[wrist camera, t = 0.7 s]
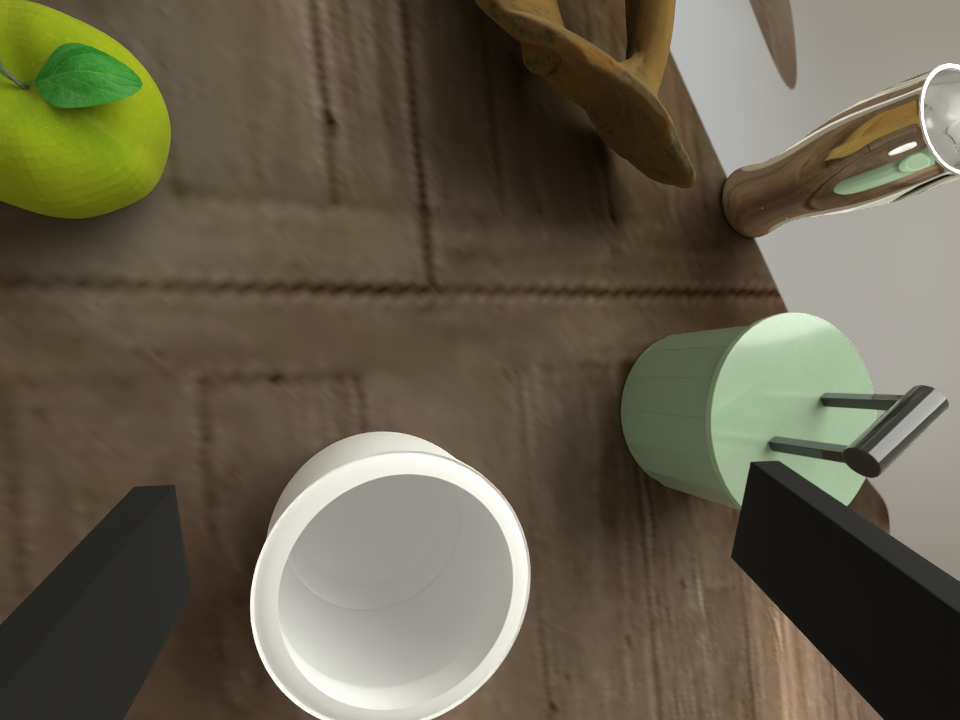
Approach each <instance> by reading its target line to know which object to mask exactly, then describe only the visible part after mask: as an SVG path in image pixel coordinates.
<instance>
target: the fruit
mask: <svg viewBox="0 0 960 720" xmlns="http://www.w3.org/2000/svg"><path fill="white" fill-rule="evenodd" d="M170 139H171V129H170V121H169V116H168V112H167V108H166V106H165V103H164V100H163V98H162V95H161V93H160V91H159V89H158V87H157V86H156V84H155V83H154V81H153V79H152V78H151V76H150V75H149V73H148V72H147V71H146V69H145V68H144V67H143V65H142V64H141V63H140V62H139V61H138V60H137V59H136V58H135V57H134V56H133V55H132V54H131V53H130V52H129V51H128V50H127V49H126V48H125V47H123V46H122V45H121V44H120V43H118V42H117V41H116V40H114V39H113V38H111V37H110V36H108V35H106V34H105V33H103V32H101V31H99V30H97V29H96V28H94V27H92V26H90V25H88V24H86V23H84V22H82V21H80V20H78V19H75V18H73V17H71V16H69V15H66V14H64V13H62V12H60V11H57V10H55V9H52V8H50V7H47V6H44V5H41V4H38V3H34V2H31V1H27V0H0V201H3V202H6V203H8V204H11V205H14V206H17V207H20V208H23V209H26V210H29V211H32V212H36V213H39V214H43V215H47V216H52V217H59V218H71V219H81V218H90V217H95V216H99V215H103V214H106V213H109V212H112V211H115V210H118V209H120V208H123V207H126V206H128V205H130V204H132V203H135V202H137V201H138V200H140V199H142V198H143V197H145V196H146V195H148V194H149V193H150V192H151V191H152V190H153V189H154V187H155V186H156V184H157V183H158V181H159V179H160V177H161V175H162V173H163V170H164V168H165V165H166V162H167V158H168V154H169V148H170Z"/></svg>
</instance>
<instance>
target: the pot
mask: <svg viewBox="0 0 960 720" xmlns="http://www.w3.org/2000/svg"><path fill="white" fill-rule="evenodd" d="M750 325H751V324H749V325H741V326H733V327H724V328H716V329H707V330H699V331H691V332H685V333H678V334H672V335H668V336H667V337H664V338H662V339H660V340H658V341H657V342H655V343H653V344H652V345H651V346H650V347H648V348H647V349H646V350H645V351H644V352H643V353H642V354H641V355H640V356H639V358H638V359H637V361H636V362H635V363H634V365H633V367H632V369H631V371H630V372H629V375H628V377H627V380H626V382H625V386H624V390H623V394H622V401H621V421H622V428H623V433H624V437H625V440H626V443H627V446H628V448H629V450H630V452H631V454H632V456H633V457H634V459H635V461H636V462H637V463H638V465H639V466H640V467H641V468H642V469H643V471H645V472H646V473H647V474H648V475H649V476H650V477H651V478H653V479H654V480H656V481H657V482H659V483H661V484H663V485H664V486H666V487H668V488H672V489H675V490H678V491H681V492H684V493H687V494H690V495H693V496H697V497H700V498H703V499H706V500H709V501H712V502H715V503H718V504H722V505H725V506H728V507H731V508H734V509H737V510H740V509H739V508H738V507H737V506H736V505H735V504H734V503H733V502H732V500H731V499H730V498H729V497H728V495H727V494H726V493H725V491H724V489H723V488H722V486H721V484H720V483H719V480H718V478H717V476H716V474H715V472H714V469H713V466H712V463H711V460H710V457H709V452H708V447H707V442H706V431H705V410H706V402H707V395H708V391H709V387H710V383H711V380H712V377H713V374H714V372H715V369H716V367H717V365H718V363H719V361H720V359H721V357H722V355H723V354H724V352H725V351H726V349H727V348H728V346H729V345H730V344H731V342H732V341H733V340H734V339H735V338H736V337H737V336H738V335H739V334H740V333H741V332H742V331H743V330H744V329H746V328H747V327H748V326H750ZM740 511H741V510H740Z"/></svg>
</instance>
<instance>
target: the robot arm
mask: <svg viewBox="0 0 960 720" xmlns="http://www.w3.org/2000/svg"><path fill="white" fill-rule="evenodd" d="M731 558H732V559H733V560H734V561H735V562H736V563H737V564H738V565H739V566H740V567H741V568H742V569H743V570H744V571H745V572H746V573H747V575H748V576H749V577H750V578H751V579H752V580H753V581H754V582H755V583H756V584H757V585H758V586H759V587H760V588H761V589H762V590H763V592H764V593H765V594H766V595H767V596H768V597H769V598H770V599H771V600H772V601H773V602H774V603H775V604H776V605H777V606H778V607H779V608H780V610H781V611H782V612H783V613H784V614H785V615H786V616H787V617H788V618H789V619H790V620H791V621H792V622H793V623H794V624H795V625H796V627H797V628H798V629H799V630H800V631H801V632H802V633H803V634H804V635H805V636H806V637H807V638H808V639H809V640H810V641H811V642H812V644H813V645H814V646H815V647H816V648H817V649H818V650H819V651H820V652H821V653H822V654H823V655H824V656H825V657H826V658H827V659H828V661H829V662H830V663H831V664H832V665H833V666H834V667H835V668H836V669H837V670H838V671H839V672H840V673H841V674H842V675H843V676H844V678H845V679H846V680H847V681H848V682H849V683H850V684H851V685H852V686H853V687H854V688H855V689H856V690H857V691H858V692H859V693H860V695H861V696H862V697H863V698H864V699H865V700H866V701H867V702H868V703H869V704H870V705H871V706H872V707H873V708H874V709H875V710H876V712H877V713H878V714H879V715H880V716H881V717H882V718H883V719H884V720H960V581H958V580H956V579H955V578H953V577H952V576H950V575H949V574H947V573H946V572H944V571H943V570H941V569H940V568H938V567H937V566H935V565H934V564H932V563H931V562H929V561H928V560H926V559H925V558H923V557H922V556H920V555H919V554H917V553H916V552H914V551H913V550H911V549H910V548H908V547H907V546H906V545H904V544H903V543H901V542H899V541H898V540H897V539H895V538H894V537H892V536H891V535H889V534H888V533H886V532H885V531H883V530H882V529H880V528H879V527H877V526H876V525H874V524H873V523H871V522H870V521H868V520H867V519H865V518H864V517H862V516H861V515H859V514H858V513H856V512H855V511H853V510H852V509H850V508H849V507H847V506H846V505H844V504H843V503H841V502H840V501H838V500H837V499H835V498H834V497H832V496H831V495H829V494H828V493H826V492H825V491H823V490H822V489H820V488H819V487H817V486H816V485H814V484H813V483H811V482H810V481H808V480H807V479H806V478H804V477H803V476H801V475H800V474H798V473H797V472H795V471H794V470H792V469H791V468H789V467H788V466H786V465H785V464H783V463H782V462H780V461H755V462H750V467H749V472H748V477H747V482H746V487H745V492H744V496H743V501H742V506H741V511H740V516H739V521H738V526H737V531H736V536H735V540H734V545H733V550H732V555H731ZM190 597H191V590H190V583H189V577H188V570H187V564H186V557H185V550H184V544H183V537H182V530H181V524H180V517H179V511H178V504H177V497H176V491H175V485H166V486H141V487H134V488H133V489H132V490H131V491H130V492H129V493H128V494H127V495H126V496H125V497H124V498H123V499H122V500H121V501H120V502H119V503H118V504H117V505H116V506H115V507H114V508H113V509H112V510H111V511H110V512H109V514H108V515H107V516H106V517H105V518H104V519H103V520H102V521H101V522H100V523H99V524H98V525H97V526H96V527H95V528H94V529H93V530H92V531H91V532H90V533H89V534H88V535H87V536H86V537H85V538H84V539H83V540H82V541H81V542H80V543H79V544H78V546H77V547H76V548H75V549H74V550H73V551H72V552H71V553H70V554H69V555H68V556H67V557H66V558H65V559H64V560H63V561H62V562H61V563H60V564H59V565H58V566H57V567H56V568H55V569H54V570H53V571H52V572H51V573H50V574H49V575H48V577H47V578H46V579H45V580H44V581H43V582H42V583H41V584H40V585H39V586H38V587H37V588H36V589H35V590H34V591H33V592H32V593H31V594H30V595H29V596H28V597H27V598H26V599H25V600H24V601H23V602H22V603H21V604H20V605H19V606H18V607H17V609H16V610H15V611H14V612H13V613H12V614H11V615H10V616H9V617H8V618H7V619H6V620H5V621H4V622H3V623H2V624H1V625H0V720H123V719H124V717H125V715H126V713H127V711H128V710H129V708H130V706H131V704H132V702H133V701H134V699H135V697H136V695H137V693H138V691H139V690H140V688H141V686H142V684H143V682H144V681H145V679H146V677H147V675H148V673H149V671H150V670H151V668H152V666H153V664H154V662H155V660H156V659H157V657H158V655H159V653H160V651H161V650H162V648H163V646H164V644H165V642H166V640H167V639H168V637H169V635H170V633H171V631H172V630H173V628H174V626H175V624H176V622H177V620H178V619H179V617H180V615H181V613H182V611H183V610H184V608H185V606H186V604H187V602H188V600H189V599H190Z"/></svg>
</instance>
